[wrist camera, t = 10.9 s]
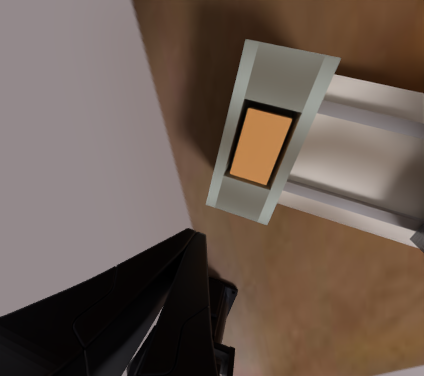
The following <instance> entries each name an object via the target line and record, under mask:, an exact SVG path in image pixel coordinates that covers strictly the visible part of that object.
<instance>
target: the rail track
mask: <svg viewBox="0 0 424 376" xmlns="http://www.w3.org/2000/svg"><path fill="white" fill-rule="evenodd" d="M340 60H341V58H338V57H333V56H328V55H323V54H318V53H313V52H308V51H303V50H298V49H293V48H288V47H283V46H278V45H273V44H268V43H263V42H258V41H253V40H248V39H246V40H245V44H244V48H243V52H242V56H241V61H240V65H239V69H238V73H237V77H236V81H235V86H234V90H233V94H232V98H231V102H230V106H229V111H228V115H227V119H226V123H225V127H224V131H223V135H222V140H221V144H220V148H219V152H218V156H217V160H216V165H215V169H214V173H213V177H212V181H211V185H210V189H209V194H208V198H207V202H206V205H209V206H212V207H215V208H218V209H221V210H224V211H227V212H230V213H232V214H235V215H238V216H241V217H244V218H247V219H250V220H253V221H256V222H259V223H262V224H265V225H267V224H268V222H269V220H270V218H271V215H272V213H273V211H274V208H275V206H276V204H277V203H279V204H282V205H285V206H288V207H291V208H294V209H298V210H301V211H304V212H307V213H310V214H313V215H316V216H319V217H323V218H326V219H329V220H332V221H335V222H338V223H341V224H344V225H348V226H351V227H354V228H357V229H360V230H363V231H366V232H369V233H373V234H376V235H379V236H382V237H385V238H388V239H391V240H394V241H398V242H401V243H404V244H407V245H410V246H413V247H416V248H418V247H417V246H416V245H415V244H414V243H413V242H412V241H411V240H410V238H411V237H412V236H413V235H414V233H415V232H416V231H417V230H418V229H419V228H420V227H421V226H422V225H423V224H424V93H420V92H415V91H410V90H406V89H401V88H396V87H391V86H387V85H382V84H377V83H373V82H368V81H363V80H359V79H354V78H349V77H344V76H340V75H335V74H334V73H335V71H336V69H337V66H338V64H339V62H340ZM251 107H254V108H257V109H261V110H265V111H269V112H273V113H277V114H281V115H285V116H288V117H290V118H291V119H292V121H291V124H290V126H289V129H288V131H287V134H286V136H285V139H284V142H283V144H282V147H281V149H280V152H279V154H278V157H277V159H276V162H275V164H274V167H273V170H272V172H271V175H270V177H269V180H268V182H267V185H264V184H261V183H258V182H254V181H251V180H248V179H245V178H241V177H238V176H235V175H232V174H230V171H231V167H232V164H233V160H234V157H235V153H236V150H237V146H238V143H239V139H240V136H241V132H242V129H243V125H244V121H245V118H246V114H247V111H248V108H251Z"/></svg>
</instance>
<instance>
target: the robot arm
mask: <svg viewBox="0 0 424 376" xmlns="http://www.w3.org/2000/svg"><path fill="white" fill-rule="evenodd" d="M237 292H238V289H237V288H235V287H233V286H230V285H228V284H225V283H223V282H220V281H218V280H215V279H213V278H210V277H208V262H207V243H206V235H205V234H203V233H200V232H196V231H195V230H192V229H190V228H187V229H185V230H183V231H181V232H179V233H178V234H176V235H174V236H172V237H170V238H168V239H166V240H164V241H162V242H160V243H158V244H157V245H155V246H153V247H151V248H149V249H147V250H145V251H143V252H141V253H139V254H137V255H136V256H134V257H132V258H130V259H128V260H126V261H124V262H122V263H120V264H118V265H117V266H116V267H115V266H114V267H113V268H110V269H109V270H107V271H105V272H103V273H101V274H99V275H97V276H95V277H93V278H91V279H89V280H86V281H84V282H82V283H80V284H77V285H76V286H73V287H71V288H69V289H67V290H64V291H61V292H59V293H57V294H54V295H52V296H50V297H47V298H45V299H43V300H40V301H38V302H36V303H33V304H31V305H28V306H26V307H24V308H21V309H19V310H16V311H14V312H12V313H9V314H7V315H4V316H1V317H0V376H121V375H122V374H123V372H124V371H125V369H126V367H127V376H220V374H222V376H233V368H234V356H235V348H234V347H231V346H230V347H228V346H226V345H223V344H222V339H223V334H224V328H225V323H226V318H227V316H228V314H229V311H230V309H231V307H232V305H233V302H234V300H235V298H236V296H237ZM162 307H163V308H162ZM161 309H162V311H161V313H160V316H159V319H158V321H157V323H156V326H154V327H153V329H152V330H151V332H150V333H149V335H148V337H147V338H146V340H145V341H144V343H143V344H142V346H141V348H140V349H139V351H138V352H137V354H136V355H135V357H134V358H133V359H132V357H133V355H134V354H135V352H136V351H137V349H138V347H139V346H140V344H141V342H142V341H143V339H144V337H145V336H146V334H147V332H148V330H149V329H150V327H151V325H152V324H153V322H154V320H155V319H156V317H157V315H158V314H159V312H160V310H161ZM131 359H132V360H131ZM129 362H130V363H129Z"/></svg>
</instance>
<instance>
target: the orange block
mask: <svg viewBox="0 0 424 376" xmlns="http://www.w3.org/2000/svg"><path fill="white" fill-rule="evenodd" d="M291 121H292V119H291V118H290V117H288V116H285V115H281V114H277V113H273V112H269V111H265V110H261V109H257V108H254V107H251V108H248V111H247V114H246V118H245V121H244V125H243V129H242V132H241V136H240V139H239V143H238V146H237V150H236V153H235V157H234V160H233V164H232V167H231V171H230V174H232V175H235V176H238V177H241V178H245V179H248V180H251V181H254V182H258V183H261V184H264V185H267V182H268V180H269V177H270V175H271V172H272V170H273V167H274V164H275V162H276V159H277V157H278V154H279V152H280V149H281V147H282V144H283V142H284V139H285V136H286V134H287V131H288V129H289V126H290V124H291Z"/></svg>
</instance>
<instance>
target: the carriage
mask: <svg viewBox="0 0 424 376" xmlns="http://www.w3.org/2000/svg"><path fill="white" fill-rule="evenodd" d="M410 240H411V241H412V242H413V243H414V244H415V245H416V246H417V247H418V248H419V249H420V250H421V251H422V252H423V253H424V224H423V225H422V226H421V227H420V228H419V229H418V230H417V231H416V232H415V233H414V235H413V236H412V237H411V238H410Z"/></svg>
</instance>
